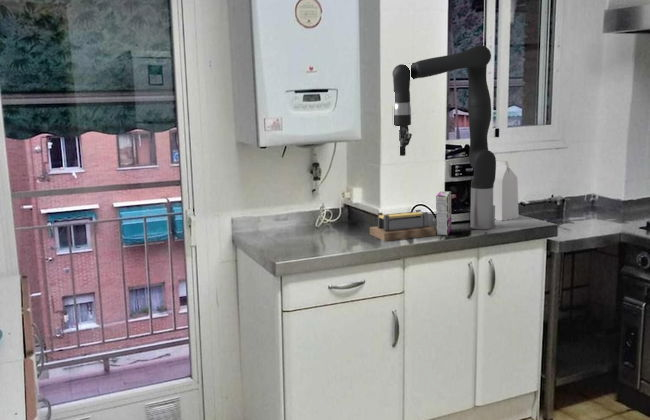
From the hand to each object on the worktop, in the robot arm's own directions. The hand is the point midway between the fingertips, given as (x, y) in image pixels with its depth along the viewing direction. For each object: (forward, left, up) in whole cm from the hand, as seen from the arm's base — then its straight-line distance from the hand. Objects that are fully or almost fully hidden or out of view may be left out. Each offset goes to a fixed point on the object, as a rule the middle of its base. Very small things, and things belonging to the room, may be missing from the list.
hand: (402, 155), depth 255 cm
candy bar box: (-11, +14, -32) cm, 37 cm away
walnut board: (+6, +10, -32) cm, 34 cm away
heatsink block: (+5, +10, -28) cm, 31 cm away
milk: (-50, -2, -32) cm, 60 cm away
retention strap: (+5, +10, -24) cm, 27 cm away
